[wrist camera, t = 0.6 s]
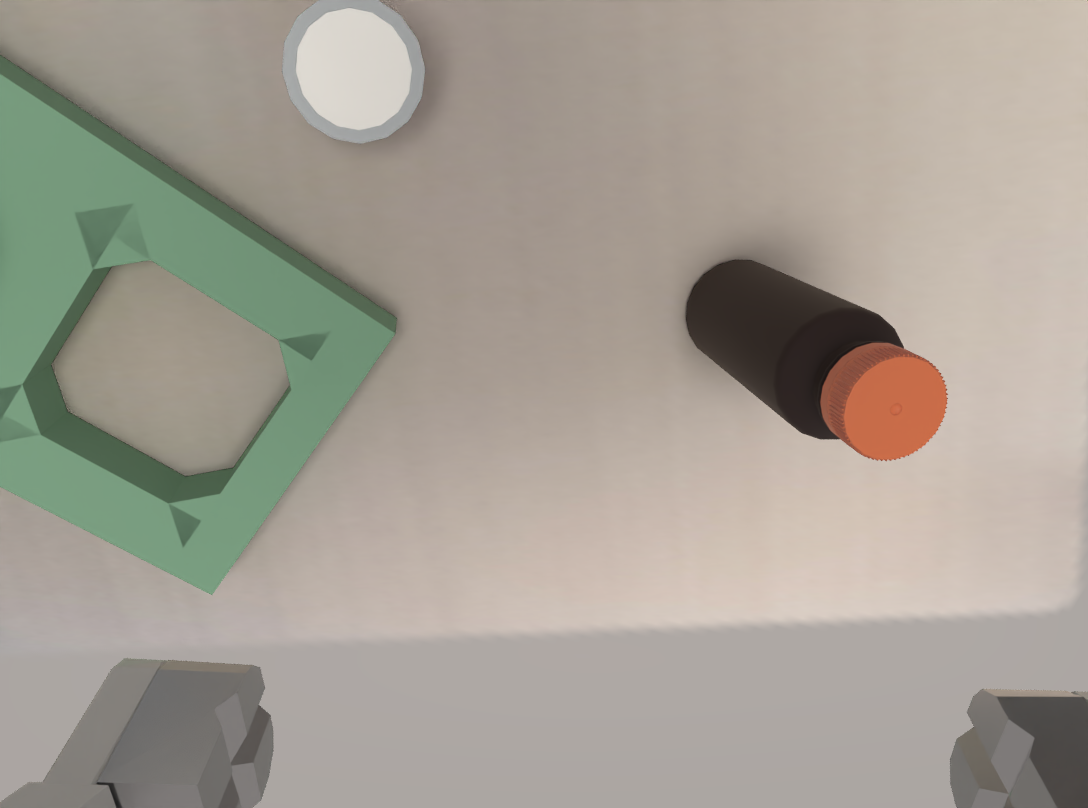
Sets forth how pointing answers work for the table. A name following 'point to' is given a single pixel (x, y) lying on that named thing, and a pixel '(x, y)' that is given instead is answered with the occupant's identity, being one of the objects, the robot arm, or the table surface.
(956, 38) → the table surface
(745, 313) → the bottle
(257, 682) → the robot arm
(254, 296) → the green cutout tray
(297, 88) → the white cup
